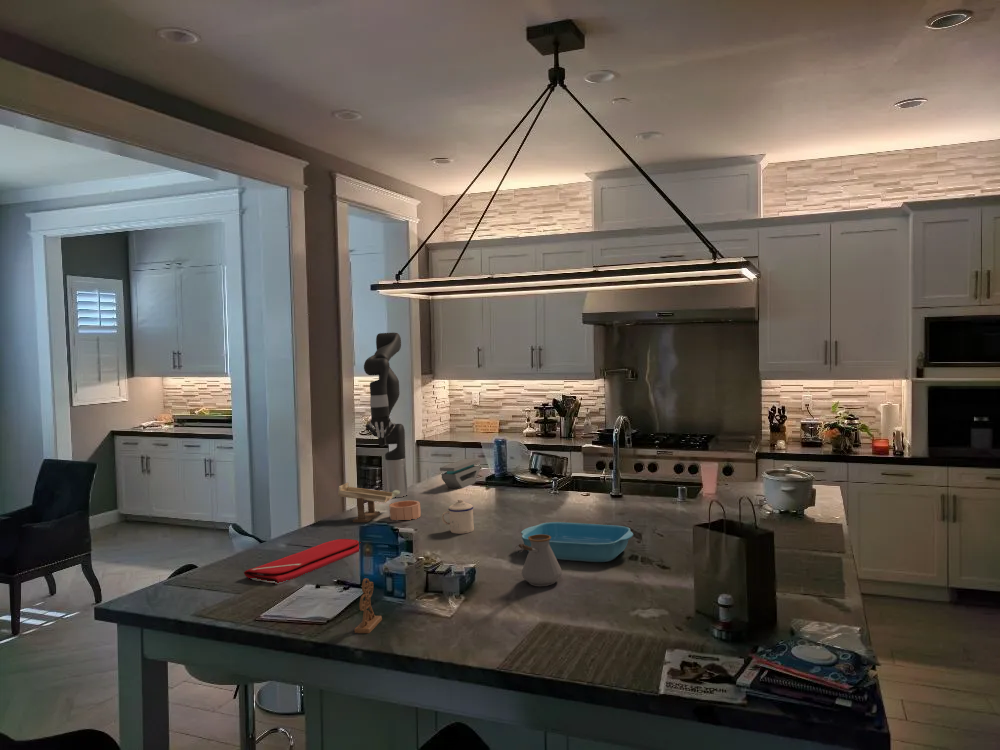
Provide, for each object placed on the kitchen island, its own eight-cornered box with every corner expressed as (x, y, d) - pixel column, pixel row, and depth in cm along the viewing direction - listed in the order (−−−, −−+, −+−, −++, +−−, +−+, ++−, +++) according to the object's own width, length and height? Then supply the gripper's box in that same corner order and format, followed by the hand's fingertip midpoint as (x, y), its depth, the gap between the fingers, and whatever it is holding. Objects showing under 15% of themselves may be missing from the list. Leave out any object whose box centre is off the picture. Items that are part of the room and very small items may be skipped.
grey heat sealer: (467, 480, 371) (466, 458, 370) (481, 480, 367) (479, 458, 367) (441, 490, 349) (439, 467, 348) (455, 491, 345) (454, 468, 345)
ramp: (355, 487, 317) (356, 477, 317) (399, 493, 314) (400, 483, 313) (338, 496, 300) (338, 486, 300) (385, 503, 296) (385, 492, 296)
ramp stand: (366, 513, 310) (364, 491, 309) (379, 513, 309) (378, 491, 308) (353, 522, 296) (351, 498, 296) (367, 522, 295) (365, 498, 294)
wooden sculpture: (369, 633, 181) (365, 584, 180) (354, 632, 182) (350, 584, 181) (382, 619, 190) (379, 573, 189) (368, 619, 191) (364, 573, 190)
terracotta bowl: (396, 514, 306) (395, 500, 306) (424, 513, 304) (423, 500, 303) (386, 521, 294) (385, 507, 294) (415, 521, 292) (414, 507, 292)
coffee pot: (530, 574, 219) (527, 523, 218) (568, 576, 214) (565, 525, 213) (501, 599, 199) (498, 543, 198) (541, 602, 194) (538, 546, 194)
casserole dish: (509, 558, 236) (508, 536, 236) (538, 539, 256) (537, 519, 255) (621, 568, 219) (620, 545, 219) (643, 547, 239) (642, 526, 238)
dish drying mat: (368, 549, 258) (368, 538, 258) (279, 587, 222) (278, 574, 222) (334, 545, 266) (333, 534, 266) (243, 581, 230) (242, 569, 230)
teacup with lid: (476, 527, 277) (474, 496, 276) (472, 533, 268) (470, 501, 267) (445, 528, 278) (443, 497, 278) (439, 534, 269) (437, 502, 269)
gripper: (397, 404, 316) (400, 444, 317) (368, 405, 319) (370, 445, 320) (391, 405, 309) (394, 447, 310) (361, 407, 312) (364, 448, 313)
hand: (382, 446), depth 315 cm, fingers closed
